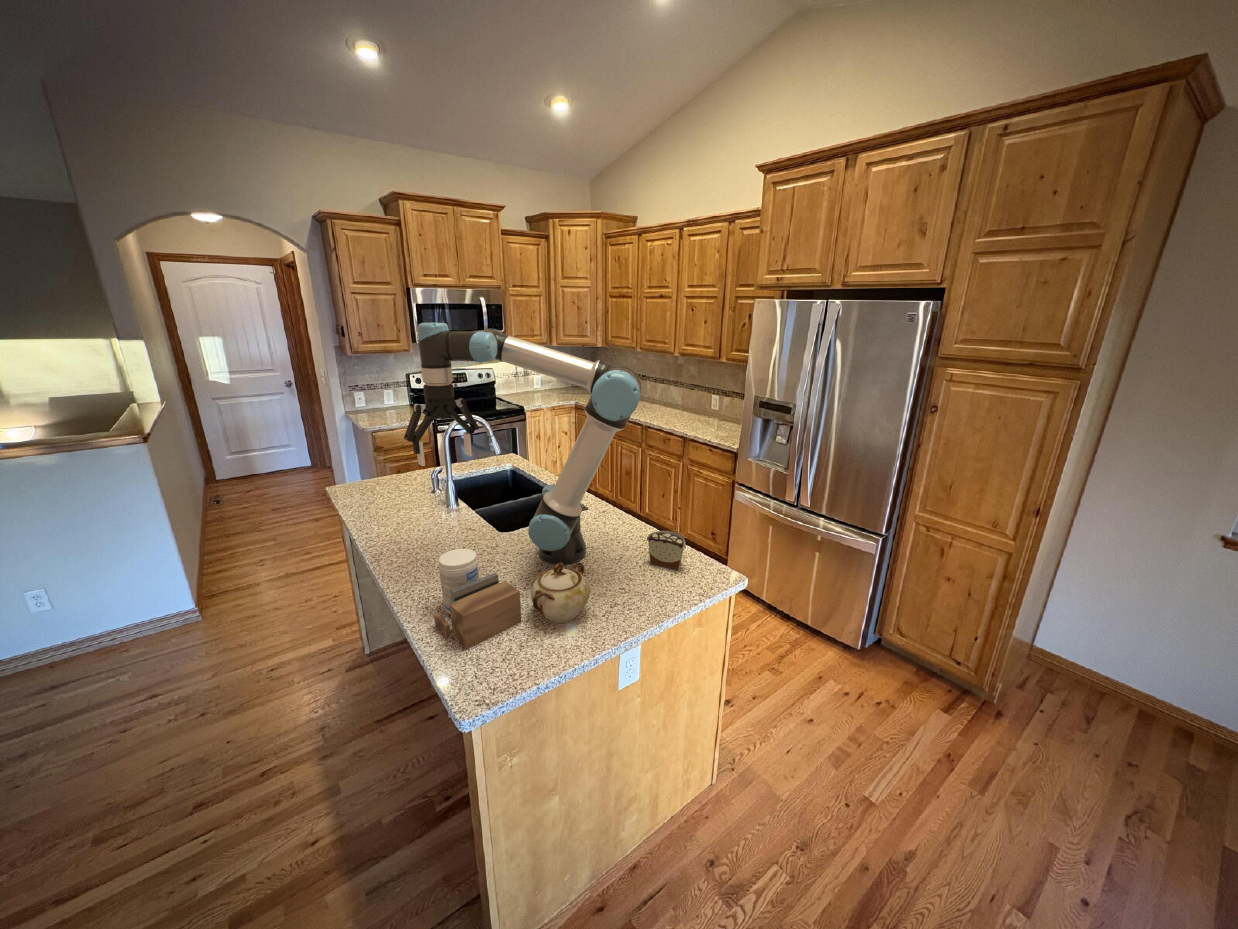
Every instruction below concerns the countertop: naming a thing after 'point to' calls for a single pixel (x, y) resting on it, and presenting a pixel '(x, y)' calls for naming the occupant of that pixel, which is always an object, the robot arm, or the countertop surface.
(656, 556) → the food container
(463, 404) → the robot arm
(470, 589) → the plate
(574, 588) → the sugar bowl
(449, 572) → the supplement tub
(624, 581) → the countertop surface
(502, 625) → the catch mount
